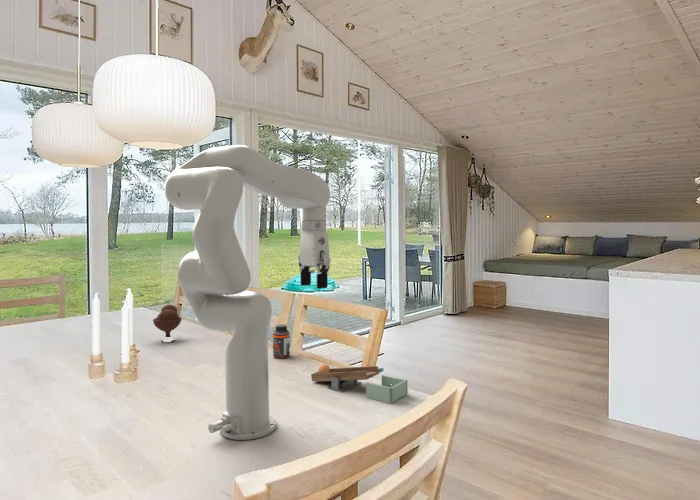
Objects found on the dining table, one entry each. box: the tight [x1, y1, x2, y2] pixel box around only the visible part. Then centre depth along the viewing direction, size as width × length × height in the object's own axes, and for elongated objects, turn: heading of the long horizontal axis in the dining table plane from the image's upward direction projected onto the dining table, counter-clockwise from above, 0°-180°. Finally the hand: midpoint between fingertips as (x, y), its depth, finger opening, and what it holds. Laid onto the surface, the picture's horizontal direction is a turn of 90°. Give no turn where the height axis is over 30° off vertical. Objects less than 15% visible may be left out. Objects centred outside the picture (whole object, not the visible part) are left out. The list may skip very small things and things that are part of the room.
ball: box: [317, 363, 331, 373], centre depth 141 cm, size 4×4×4 cm
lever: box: [310, 365, 385, 382], centre depth 138 cm, size 10×20×2 cm, turn 53°
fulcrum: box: [327, 376, 362, 393], centre depth 136 cm, size 9×5×4 cm, turn 143°
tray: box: [365, 375, 408, 404], centre depth 128 cm, size 8×8×4 cm
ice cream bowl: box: [152, 304, 182, 337], centre depth 194 cm, size 11×11×15 cm
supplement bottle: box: [272, 323, 291, 359], centre depth 169 cm, size 6×6×11 cm
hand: (313, 286), depth 136 cm, fingers open, 9 cm apart
